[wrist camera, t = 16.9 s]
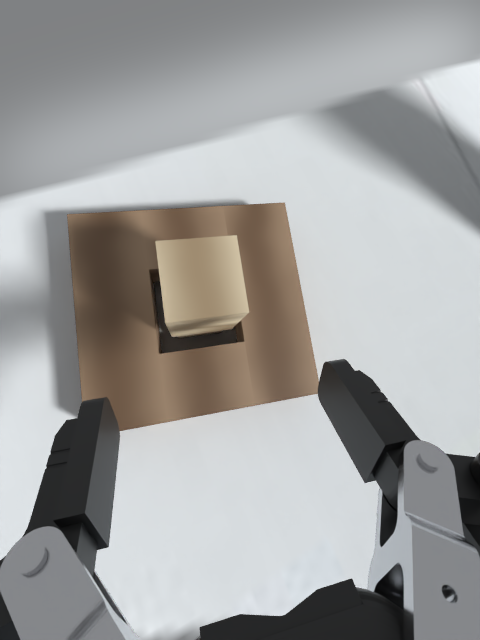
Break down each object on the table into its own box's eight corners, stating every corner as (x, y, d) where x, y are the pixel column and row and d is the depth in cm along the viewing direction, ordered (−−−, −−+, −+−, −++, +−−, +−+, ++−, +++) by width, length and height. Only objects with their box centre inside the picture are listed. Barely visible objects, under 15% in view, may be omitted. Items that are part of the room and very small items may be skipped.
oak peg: (217, 288, 25) (236, 235, 15) (224, 335, 24) (249, 312, 14) (168, 293, 24) (155, 241, 14) (174, 342, 23) (165, 322, 14)
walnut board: (274, 221, 27) (284, 202, 24) (305, 390, 25) (320, 393, 22) (82, 233, 24) (67, 214, 21) (99, 428, 21) (85, 437, 19)
